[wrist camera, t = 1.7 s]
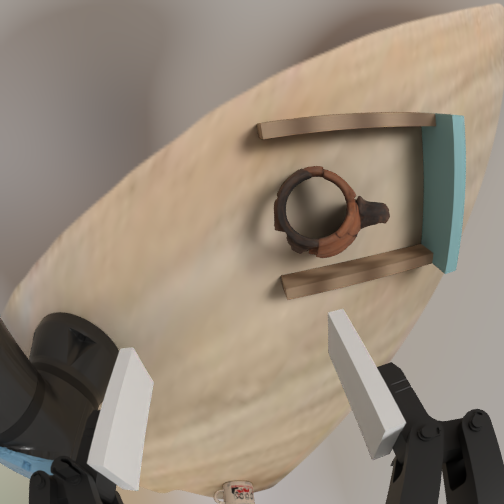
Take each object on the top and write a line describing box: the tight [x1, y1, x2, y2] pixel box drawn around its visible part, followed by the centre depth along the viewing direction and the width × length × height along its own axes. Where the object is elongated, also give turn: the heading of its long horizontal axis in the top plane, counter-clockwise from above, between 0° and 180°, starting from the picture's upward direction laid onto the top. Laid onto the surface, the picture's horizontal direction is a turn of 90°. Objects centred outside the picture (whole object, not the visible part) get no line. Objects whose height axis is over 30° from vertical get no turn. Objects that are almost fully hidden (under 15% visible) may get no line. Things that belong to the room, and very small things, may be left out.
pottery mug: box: [274, 166, 390, 258], centre depth 29 cm, size 12×10×8 cm
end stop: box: [421, 113, 466, 274], centre depth 29 cm, size 2×19×6 cm, turn 10°
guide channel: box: [257, 112, 436, 300], centre depth 30 cm, size 20×19×3 cm
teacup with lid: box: [214, 481, 255, 504], centre depth 58 cm, size 12×9×12 cm
